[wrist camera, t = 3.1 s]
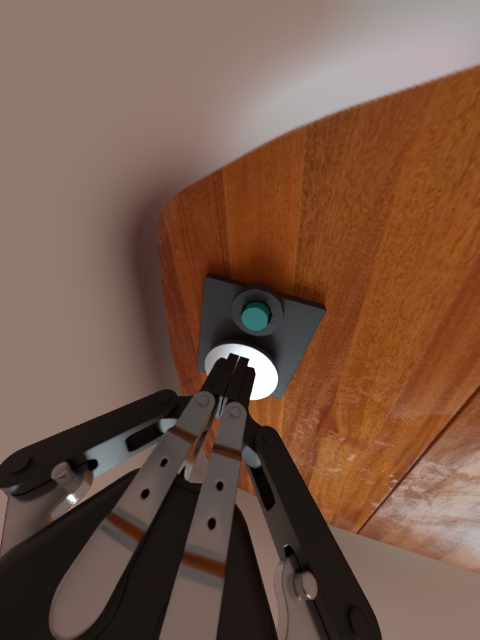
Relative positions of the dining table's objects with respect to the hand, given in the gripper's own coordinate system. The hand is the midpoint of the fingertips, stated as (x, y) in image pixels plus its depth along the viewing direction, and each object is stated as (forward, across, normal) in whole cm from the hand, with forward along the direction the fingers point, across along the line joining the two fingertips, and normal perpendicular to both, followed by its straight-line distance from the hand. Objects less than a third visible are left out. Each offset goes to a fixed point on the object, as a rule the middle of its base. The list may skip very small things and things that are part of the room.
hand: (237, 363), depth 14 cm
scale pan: (+8, 0, +9) cm, 12 cm away
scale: (+11, 0, +6) cm, 12 cm away
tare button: (+8, 0, 0) cm, 8 cm away
